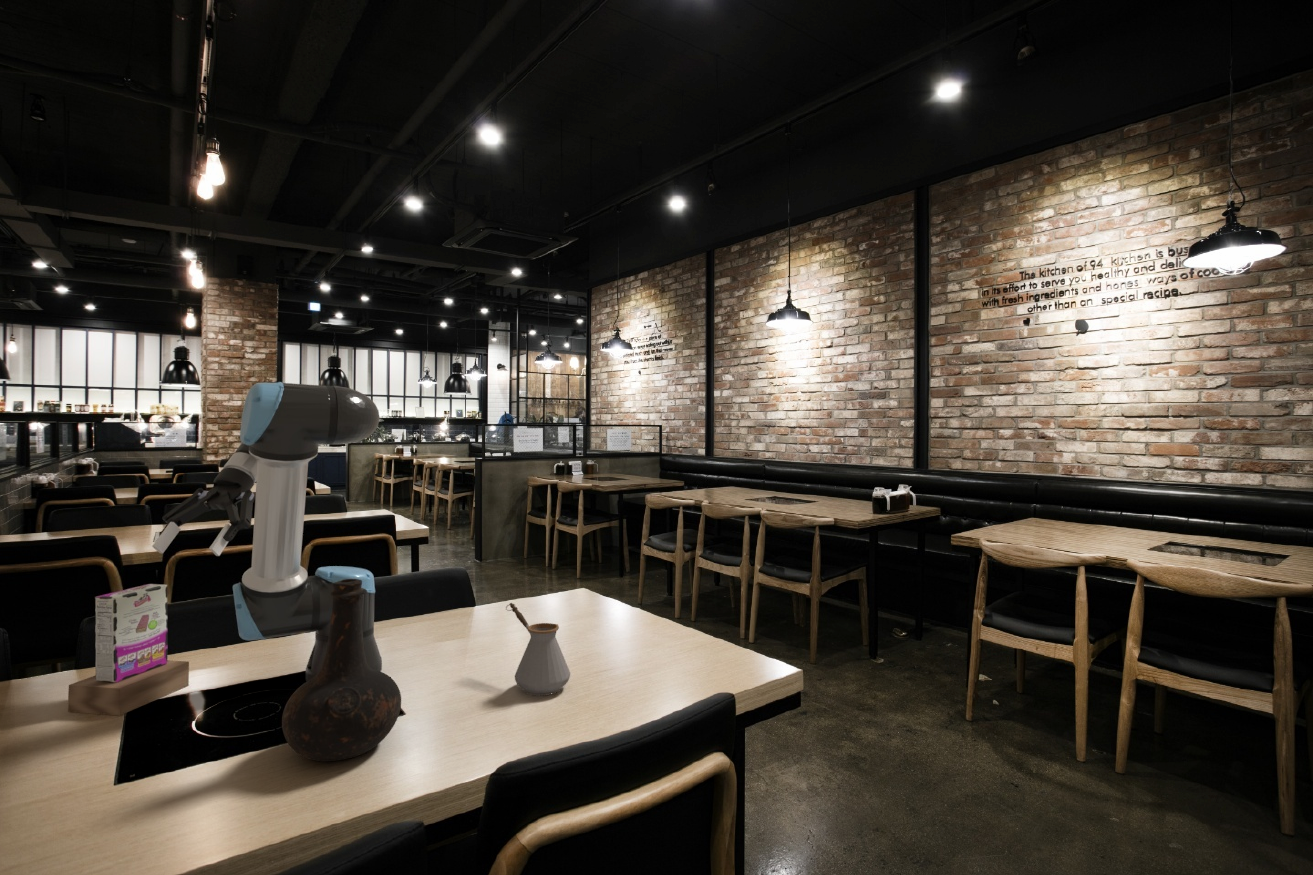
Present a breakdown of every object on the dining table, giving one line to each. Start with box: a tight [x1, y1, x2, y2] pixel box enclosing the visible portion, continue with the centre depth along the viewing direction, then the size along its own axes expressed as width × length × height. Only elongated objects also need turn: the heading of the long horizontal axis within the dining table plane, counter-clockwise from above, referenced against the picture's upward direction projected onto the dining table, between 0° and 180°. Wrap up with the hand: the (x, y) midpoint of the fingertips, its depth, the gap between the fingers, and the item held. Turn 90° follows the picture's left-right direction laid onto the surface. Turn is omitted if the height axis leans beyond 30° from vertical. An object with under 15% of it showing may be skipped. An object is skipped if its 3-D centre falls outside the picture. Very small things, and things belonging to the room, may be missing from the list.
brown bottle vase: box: [281, 579, 402, 762], centre depth 108 cm, size 18×18×28 cm
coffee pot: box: [505, 602, 571, 697], centre depth 139 cm, size 21×12×15 cm, turn 39°
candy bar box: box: [94, 583, 168, 683], centre depth 128 cm, size 11×5×16 cm, turn 171°
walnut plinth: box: [67, 659, 190, 716], centre depth 128 cm, size 11×15×5 cm
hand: (185, 551), depth 140 cm, fingers open, 13 cm apart
